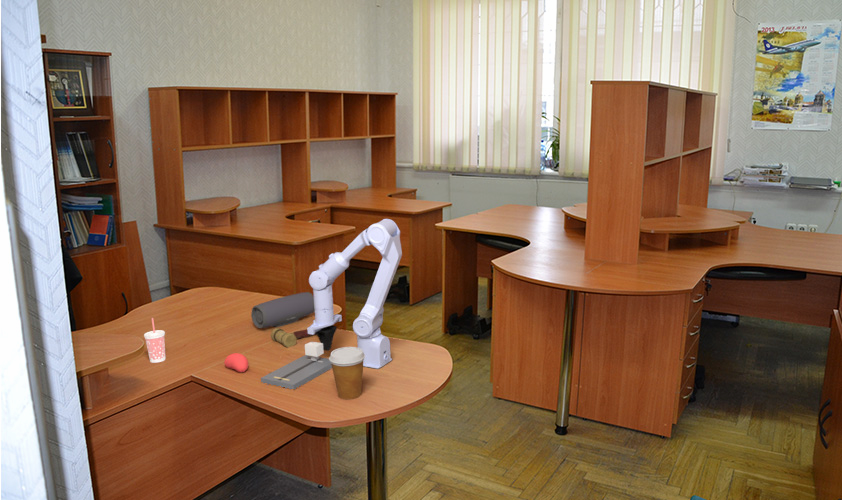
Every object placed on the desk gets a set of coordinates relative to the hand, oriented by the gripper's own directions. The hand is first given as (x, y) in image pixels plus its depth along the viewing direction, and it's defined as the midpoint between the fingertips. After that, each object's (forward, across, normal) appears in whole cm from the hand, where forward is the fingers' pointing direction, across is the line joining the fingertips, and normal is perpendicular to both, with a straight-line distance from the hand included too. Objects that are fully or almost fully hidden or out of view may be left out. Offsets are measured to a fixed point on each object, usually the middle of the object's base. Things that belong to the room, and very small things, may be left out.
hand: (326, 349), depth 200 cm
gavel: (+4, -14, -20) cm, 24 cm away
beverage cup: (+3, +23, -50) cm, 55 cm away
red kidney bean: (+3, +18, -20) cm, 27 cm away
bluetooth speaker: (+3, -23, -37) cm, 43 cm away
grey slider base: (+3, +13, 0) cm, 13 cm away
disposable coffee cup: (+3, +19, +22) cm, 29 cm away
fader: (+1, +6, 0) cm, 6 cm away
